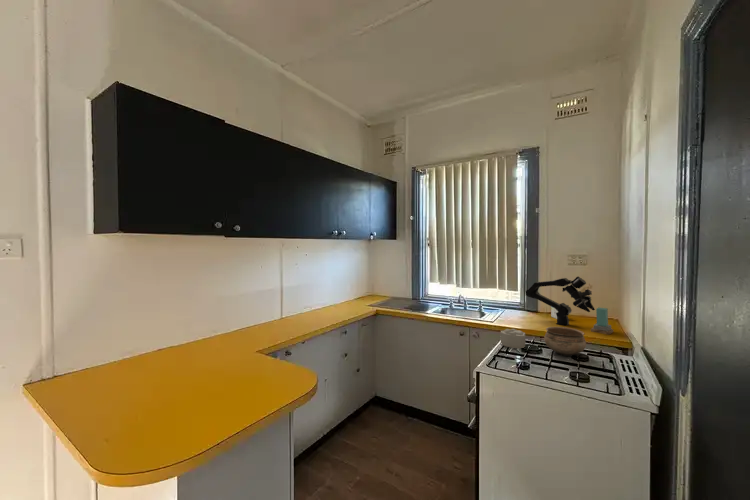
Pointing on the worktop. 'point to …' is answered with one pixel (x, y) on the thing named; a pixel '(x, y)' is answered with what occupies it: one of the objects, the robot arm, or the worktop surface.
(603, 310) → the teal pillar block
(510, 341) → the lumpy-topped squat cylinder
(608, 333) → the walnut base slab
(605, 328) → the charcoal top slab
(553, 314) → the light bulb box
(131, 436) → the worktop surface
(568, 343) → the cooking pot
